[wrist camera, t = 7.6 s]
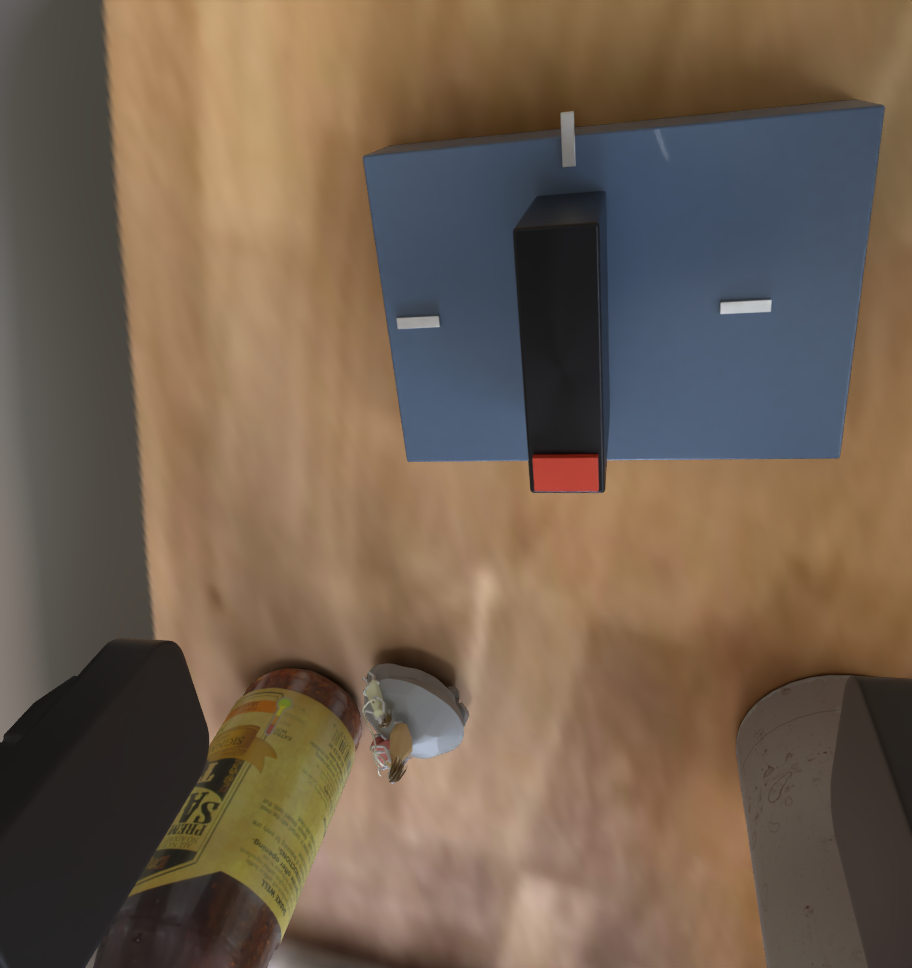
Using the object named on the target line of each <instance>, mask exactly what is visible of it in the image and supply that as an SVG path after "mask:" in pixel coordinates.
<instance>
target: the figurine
mask: <svg viewBox="0 0 912 968" xmlns="http://www.w3.org/2000/svg"><path fill="white" fill-rule="evenodd" d="M363 680H364V681H366V682H367V684H366V687H365V689H364V691H363V694H364V695H365V701H364V707H363V709H362V711H363V712H362V714H364V718H365V721H366V724H367V726H368V728H369V730H370V732H371V734H372V736H373V742H372V744H371V746H370V750H371V751H372V753H373V758H374V761H375V763H376V765H377V766H378V767H379V768H378V774H379V771H380V770H385V769H387V768H388V767H389V768H388V769H389V772H388V778H389V780H390V781H389V782H391V783H392V784H394V783H396V782H397V781H399V780H400V779H401V778H402V776H403V774H404V773H405V771H406V769H407V768H406V769H405V771H404V772H403V773H402V771H403V770H404V768H403V767H404V765H405V764H406V763H407V761H409V759H411V758H410V757H411V756H413V757H416V758H421V759H425V758H431V757H434V756H437V755H440V754H444V753H447V752H450V751H452V750H454V749H455V748H456V747H457V746H458V745H459V744H460V743H461V741H462V739H463V736H464V726H465V724H466V722H467V719H468V717H469V713H468V710H467V709H466V707H465V706H464V705H463V703H458V702H459V692H458V690H457V688H456V687H455V686H449V687H448V688H447V687H446V686H444V685H443V684H442V683H441V682H440V681H439V680H438V679H437V678H435V677H433V676H432V675H430V674H428V673H425V672H423V671H421V670H418V669H414V668H408V667H402V666H399V665H396V664H380V665H377V666H375V667H373V668H372V669H371V670H370V671H369V672H368V675H367V679H366V678H364V677H363ZM365 714H366V715H365ZM366 716H367V718H368V720H369V722H370V723H371V725H372V726H373V728H374V729H375V731H376V732H377V733H378V734H375V735H374V734H373V732H372V730H371V728H370V726H369V724H368V722H367V718H366ZM384 739H385V740H386V741H385V740H384ZM374 754H375V755H374ZM409 755H410V756H409ZM408 756H409V757H408ZM375 757H376V759H377V760H378V762H379V763H380V764H381V765H382V766H383V768H381V767H380V766H379V765H378V764H377V762H376V759H375ZM413 757H412V758H413ZM386 763H387V764H386ZM405 767H406V766H405ZM379 769H380V770H379ZM402 769H403V770H402ZM401 773H402V775H401ZM400 775H401V776H400ZM379 776H382V775H380V774H379ZM399 776H400V777H399Z"/></svg>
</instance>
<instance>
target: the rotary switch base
mask: <svg viewBox="0 0 912 968" xmlns="http://www.w3.org/2000/svg"><path fill="white" fill-rule="evenodd" d="M884 110H885V107H884V105H881V104H876V103H871V102H866V101H861V100H856V99H854V100H844V101H834V102H824V103H814V104H804V105H794V106H784V107H774V108H763V109H753V110H743V111H733V112H723V113H713V114H703V115H693V116H683V117H673V118H663V119H653V120H643V121H633V122H623V123H613V124H602V125H592V126H582V127H575V124H574V111H569V112H561V113H560V115H561V129H552V130H542V131H532V132H522V133H512V134H502V135H492V136H482V137H472V138H462V139H451V140H441V141H431V142H421V143H411V144H401V145H391V146H388V147H385V148H383V149H380V150H377V151H375V152H372V153H369V154H367V155H364V156H363V163H364V170H365V176H366V183H367V190H368V197H369V204H370V210H371V217H372V224H373V231H374V238H375V245H376V251H377V258H378V265H379V272H380V279H381V286H382V292H383V299H384V306H385V313H386V320H387V326H388V333H389V340H390V347H391V354H392V361H393V367H394V374H395V381H396V388H397V395H398V401H399V408H400V415H401V422H402V429H403V436H404V442H405V449H406V456H407V461H408V462H435V461H528V447H527V433H526V418H525V404H524V389H523V375H522V360H521V346H520V331H519V317H518V302H517V288H516V273H515V259H514V244H513V229H514V228H515V226H516V225H517V224H518V222H519V221H520V219H521V218H522V216H523V215H524V213H525V212H526V211H527V209H528V208H529V206H530V205H531V203H532V202H533V201H534V199H535V198H536V197H537V196H545V195H557V194H570V193H582V192H595V191H605V192H606V215H607V276H608V336H609V396H610V424H609V438H608V453H607V460H691V459H819V458H839V457H840V452H841V444H842V437H843V429H844V421H845V413H846V406H847V398H848V390H849V382H850V375H851V367H852V359H853V351H854V343H855V336H856V328H857V320H858V312H859V305H860V297H861V289H862V281H863V274H864V266H865V258H866V250H867V242H868V235H869V227H870V219H871V211H872V204H873V196H874V188H875V180H876V173H877V165H878V157H879V149H880V141H881V134H882V126H883V118H884Z"/></svg>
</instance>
